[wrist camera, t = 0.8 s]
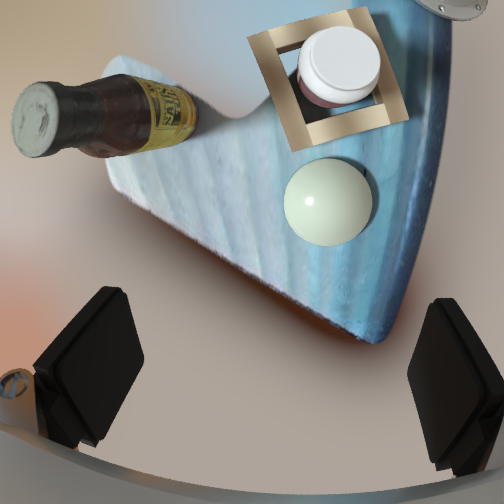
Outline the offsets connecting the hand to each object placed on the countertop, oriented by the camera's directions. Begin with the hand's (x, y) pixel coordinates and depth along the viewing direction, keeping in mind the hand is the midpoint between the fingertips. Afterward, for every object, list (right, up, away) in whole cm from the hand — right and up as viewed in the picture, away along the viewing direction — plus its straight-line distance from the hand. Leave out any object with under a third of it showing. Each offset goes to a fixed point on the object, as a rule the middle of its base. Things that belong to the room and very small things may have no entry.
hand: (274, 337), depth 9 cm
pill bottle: (+7, +19, +18) cm, 27 cm away
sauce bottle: (-9, +17, +21) cm, 28 cm away
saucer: (+7, +8, +23) cm, 25 cm away
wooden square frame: (+7, +19, +18) cm, 27 cm away
